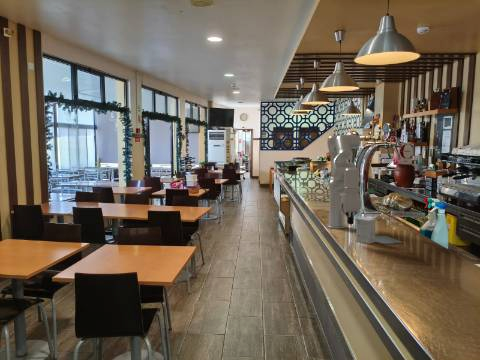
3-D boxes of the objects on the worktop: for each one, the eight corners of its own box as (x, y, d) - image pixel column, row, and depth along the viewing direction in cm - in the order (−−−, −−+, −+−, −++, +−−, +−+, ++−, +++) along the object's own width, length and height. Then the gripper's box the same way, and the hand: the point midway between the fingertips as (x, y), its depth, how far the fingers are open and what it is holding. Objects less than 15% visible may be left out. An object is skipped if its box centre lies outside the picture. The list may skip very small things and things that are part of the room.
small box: (375, 242, 206) (375, 219, 205) (368, 244, 202) (369, 220, 201) (362, 239, 212) (362, 216, 211) (355, 241, 208) (356, 218, 207)
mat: (365, 237, 216) (365, 236, 216) (384, 236, 219) (384, 235, 219) (382, 244, 201) (382, 243, 201) (402, 243, 204) (402, 242, 204)
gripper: (359, 189, 207) (358, 221, 209) (335, 190, 204) (334, 223, 206) (367, 191, 200) (366, 224, 202) (342, 192, 197) (341, 226, 198)
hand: (350, 223), depth 204 cm, fingers closed
